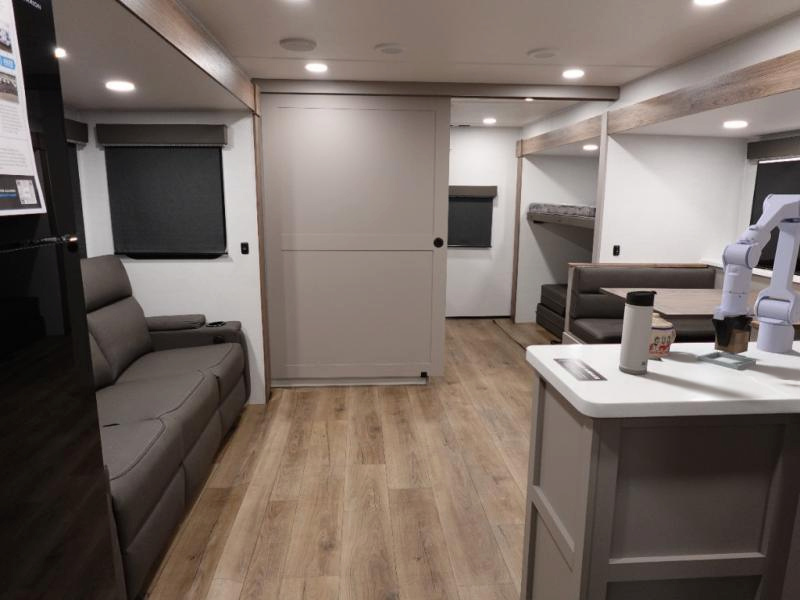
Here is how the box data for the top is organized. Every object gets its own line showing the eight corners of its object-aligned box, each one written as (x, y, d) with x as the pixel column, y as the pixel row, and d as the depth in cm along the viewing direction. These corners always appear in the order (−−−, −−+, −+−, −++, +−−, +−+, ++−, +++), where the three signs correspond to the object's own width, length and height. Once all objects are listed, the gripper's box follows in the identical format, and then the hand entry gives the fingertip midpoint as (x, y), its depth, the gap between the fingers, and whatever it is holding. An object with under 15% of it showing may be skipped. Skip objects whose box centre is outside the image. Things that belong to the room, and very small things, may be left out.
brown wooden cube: (725, 346, 141) (726, 328, 140) (747, 351, 136) (749, 331, 136) (714, 349, 138) (716, 330, 137) (736, 353, 133) (738, 334, 133)
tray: (716, 358, 145) (717, 351, 145) (755, 368, 137) (756, 360, 137) (697, 363, 140) (698, 356, 139) (736, 373, 132) (737, 365, 132)
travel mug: (650, 376, 128) (660, 293, 125) (621, 373, 129) (629, 291, 126) (644, 368, 134) (653, 289, 131) (616, 366, 135) (624, 287, 132)
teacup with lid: (650, 361, 141) (655, 317, 139) (625, 352, 149) (629, 311, 147) (685, 358, 145) (691, 315, 143) (659, 349, 153) (664, 309, 151)
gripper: (733, 287, 142) (726, 337, 145) (704, 291, 134) (697, 344, 137) (762, 291, 136) (755, 343, 139) (734, 295, 129) (726, 350, 131)
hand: (728, 344), depth 137 cm, fingers closed on brown wooden cube, 5 cm apart
